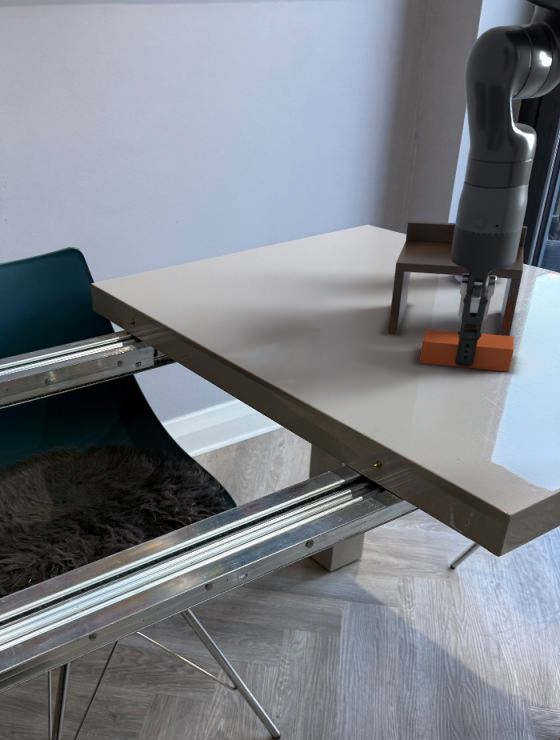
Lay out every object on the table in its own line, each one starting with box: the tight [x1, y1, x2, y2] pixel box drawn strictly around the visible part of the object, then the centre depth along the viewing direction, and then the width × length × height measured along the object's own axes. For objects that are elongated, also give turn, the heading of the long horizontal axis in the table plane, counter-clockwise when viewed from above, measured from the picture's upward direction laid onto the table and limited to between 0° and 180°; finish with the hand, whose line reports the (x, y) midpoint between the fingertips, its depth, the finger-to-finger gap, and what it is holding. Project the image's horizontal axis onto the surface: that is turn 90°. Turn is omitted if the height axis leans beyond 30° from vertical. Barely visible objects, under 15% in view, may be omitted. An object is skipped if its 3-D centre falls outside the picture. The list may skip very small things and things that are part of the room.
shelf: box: [387, 220, 528, 336], centre depth 110 cm, size 16×12×12 cm
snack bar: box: [419, 328, 515, 372], centre depth 102 cm, size 11×4×3 cm, turn 70°
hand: (465, 356), depth 102 cm, fingers closed on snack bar, 4 cm apart
